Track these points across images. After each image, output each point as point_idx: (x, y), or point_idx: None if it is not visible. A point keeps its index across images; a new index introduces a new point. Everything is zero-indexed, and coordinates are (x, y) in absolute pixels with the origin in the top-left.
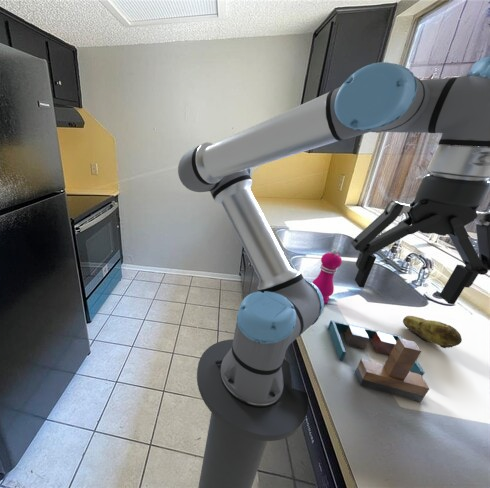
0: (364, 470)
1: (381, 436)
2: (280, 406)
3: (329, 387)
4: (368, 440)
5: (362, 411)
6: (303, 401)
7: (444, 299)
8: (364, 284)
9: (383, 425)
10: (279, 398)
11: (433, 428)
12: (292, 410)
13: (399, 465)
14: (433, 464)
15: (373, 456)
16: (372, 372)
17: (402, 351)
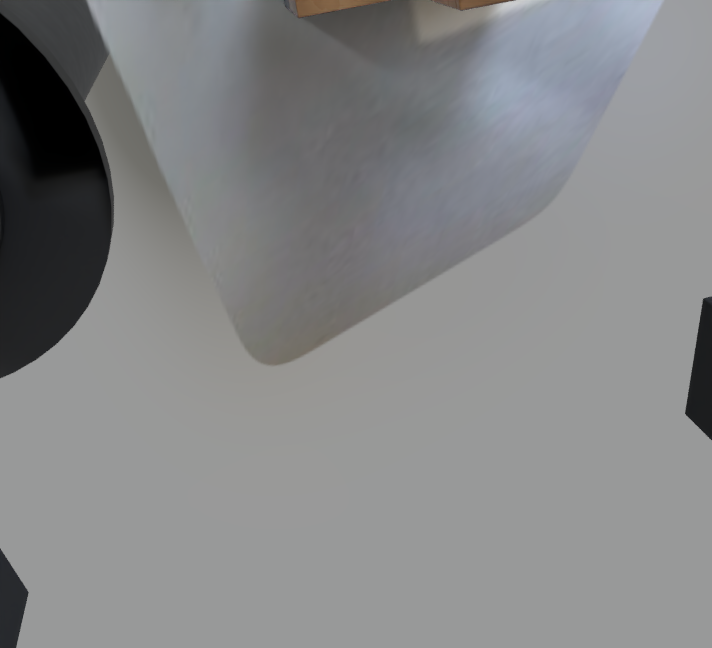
0: (272, 348)
1: (330, 220)
2: (19, 253)
3: (163, 103)
4: (291, 258)
5: (283, 153)
6: (88, 183)
7: (694, 369)
8: (16, 631)
9: (344, 173)
10: (1, 236)
11: (501, 86)
12: (62, 243)
13: (360, 284)
14: (449, 228)
15: (298, 299)
16: (324, 4)
17: (448, 4)
